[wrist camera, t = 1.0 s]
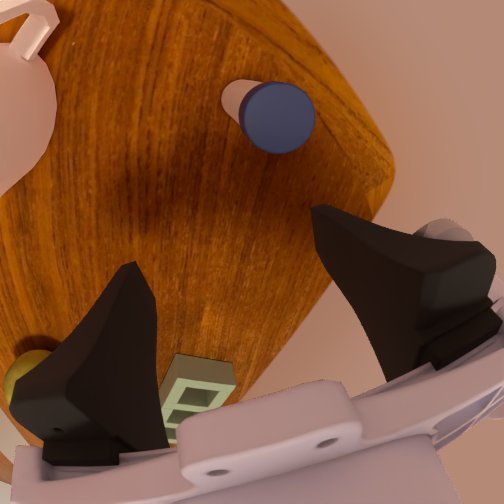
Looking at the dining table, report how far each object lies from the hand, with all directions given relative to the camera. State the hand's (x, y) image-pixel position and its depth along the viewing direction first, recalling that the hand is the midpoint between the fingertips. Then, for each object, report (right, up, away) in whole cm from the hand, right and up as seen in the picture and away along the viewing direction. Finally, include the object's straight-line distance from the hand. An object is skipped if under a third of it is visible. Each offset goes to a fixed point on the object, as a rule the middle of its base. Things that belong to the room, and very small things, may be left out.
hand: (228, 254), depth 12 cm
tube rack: (-7, -17, +21) cm, 28 cm away
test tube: (0, +10, +6) cm, 11 cm away
